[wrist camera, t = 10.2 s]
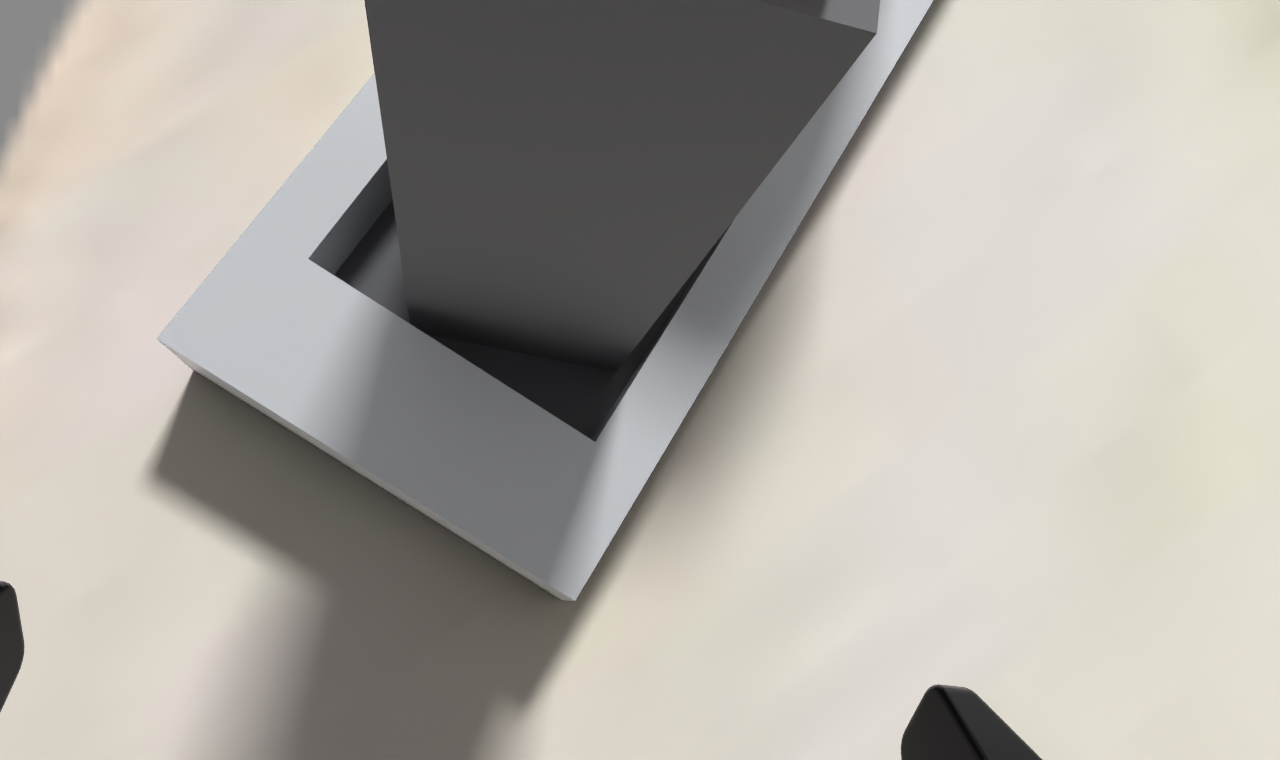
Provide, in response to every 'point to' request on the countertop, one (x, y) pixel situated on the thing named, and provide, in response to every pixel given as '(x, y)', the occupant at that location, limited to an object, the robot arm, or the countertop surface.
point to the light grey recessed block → (476, 374)
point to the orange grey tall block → (586, 151)
